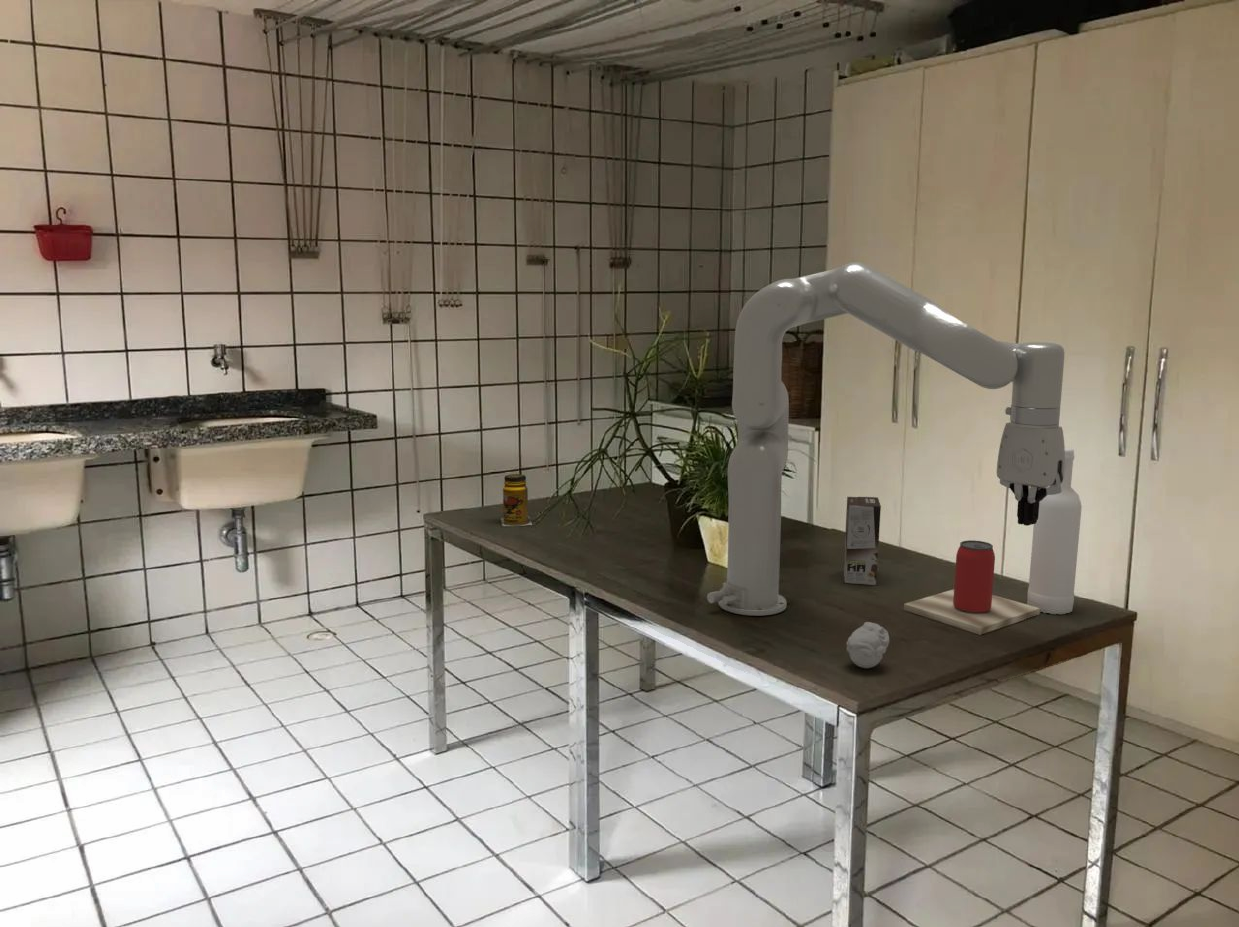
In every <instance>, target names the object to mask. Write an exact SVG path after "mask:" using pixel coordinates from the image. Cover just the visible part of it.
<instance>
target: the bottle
mask: <svg viewBox="0 0 1239 927" xmlns="http://www.w3.org/2000/svg"><path fill="white" fill-rule="evenodd" d="M1074 460H1075V449H1074V448H1073V447H1067V446H1065V469H1064V478H1063V481H1062V483H1061V490H1062V492H1061V493H1060V494H1055V495H1047V496H1046V497H1045V498H1043V500H1042V501H1040V502H1039V515H1038V520H1037V522H1036V524H1033V529H1032V544H1031V553H1030V555H1031V556H1030V567H1029V579H1028V580H1029V581H1028V589H1027V594H1026V595H1027V598H1026V599H1027V603H1026V604H1027V605H1030V606H1034V607H1037V608H1040V613H1041V612H1043V613H1042V614H1046V613H1050V614H1049V615H1056V614H1059V615H1067V614H1066V613H1068V614H1070V613H1071V612H1073V607H1074V603H1075V602H1074V601H1075V584H1076V572H1077V562H1078V554H1079V553H1078V551H1079V540H1080V530H1081V529H1080V527H1081V519H1082V518H1081V517H1082V509H1083V508H1082V503H1081V502H1082V501H1081V498H1080V496H1079V494H1078V493H1077V491H1075V490H1074V488H1073V487H1072V478H1073V465H1074ZM1048 487H1049V486H1048Z"/></svg>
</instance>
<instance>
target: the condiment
mask: <svg viewBox="0 0 1239 927" xmlns="http://www.w3.org/2000/svg"><path fill="white" fill-rule="evenodd" d="M503 479H504V483H503V484H504V486H503V487H502V492H503V493H502V494H503V495H502V496H503V498H502V499H503V500H502V502H503V503H502V506H503V507H502V508H503V517H500V521H501V526H502V527H520V526H521V527H523V526H532V525H533V523H532V520H531V516H529V501H528V499H529V498H528V497H529V493H528V492H529V490H528V485H527V482H526V481H527V480H526V479H527V477H526V475H525V474H521V473H514V474H513V473H511V474H507V475H504V478H503Z"/></svg>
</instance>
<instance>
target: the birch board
mask: <svg viewBox="0 0 1239 927" xmlns="http://www.w3.org/2000/svg"><path fill="white" fill-rule="evenodd" d="M953 598H954V588H953V589H949V590H947V591H943V592H941V593H940V592H939V593H937V594H933V595H929V596H925V597H923V598H919V599H915V600H912V601H910V602H909V601H908V602H906V603H903V611H906V612H909V613H912V614H915V615H918V616H921V617H925V618H927V619H930V620H933V621H936V622H940V623H943V624H945V625H948V626H952V627H955V628H957V629H961V630H964V631H967V632H970V633H973V634H976V635H980V636H981V635H983V634H988V633H990V632H993V631H995V630H998V629H1001V628H1004V627H1008V626H1010V625H1013V624H1016V623H1019V622H1022V621H1025V620H1028V619H1031V618H1034V617H1037V616H1039V615H1040V613H1041V612H1040V608H1037V607H1034V606H1030V605H1027V603H1022V602H1019V601H1016V600H1012V599H1009V598H1005V597H1002V596H998V595H995V594H992V605H991V609H990V610H989V611H987V612H984V613H969V612H964V611H961V610H959V609H957V608H956V607H955V606H954V605H953ZM1036 615H1037V616H1036ZM1033 616H1034V617H1033ZM1030 617H1031V618H1030ZM1027 618H1028V619H1027Z"/></svg>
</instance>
